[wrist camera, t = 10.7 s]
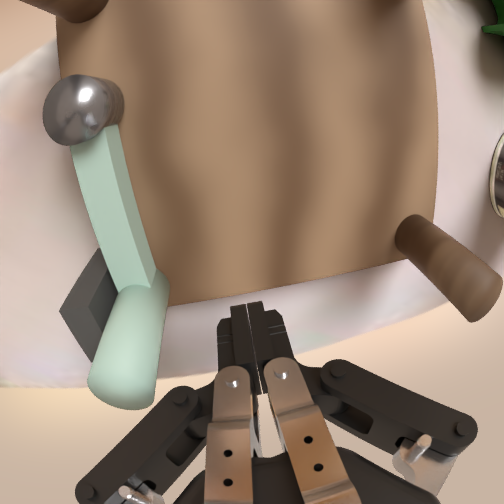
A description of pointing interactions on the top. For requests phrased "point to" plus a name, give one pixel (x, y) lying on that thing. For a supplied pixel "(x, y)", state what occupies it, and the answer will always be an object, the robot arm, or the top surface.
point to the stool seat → (269, 145)
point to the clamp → (503, 8)
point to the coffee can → (498, 179)
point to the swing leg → (113, 239)
